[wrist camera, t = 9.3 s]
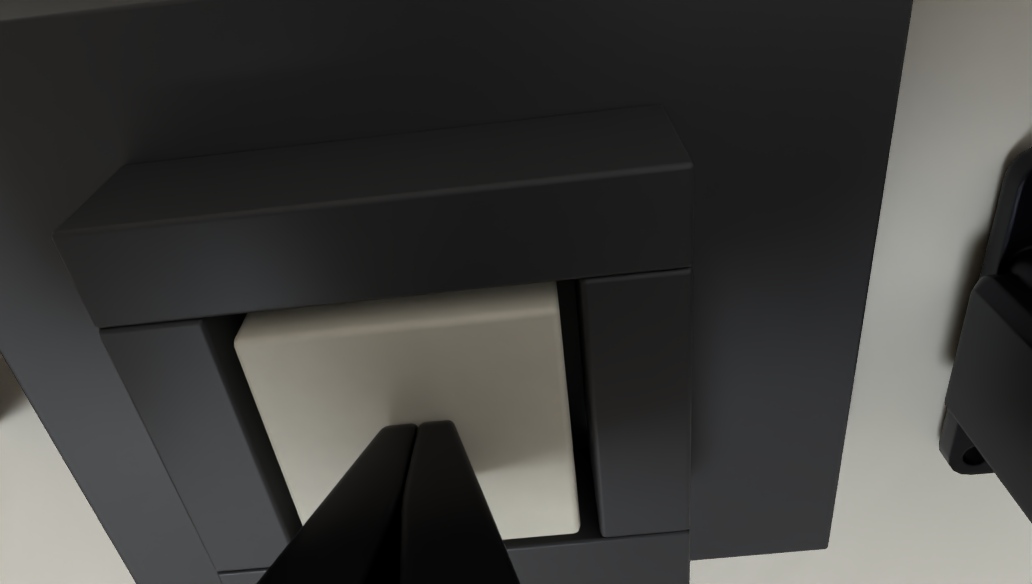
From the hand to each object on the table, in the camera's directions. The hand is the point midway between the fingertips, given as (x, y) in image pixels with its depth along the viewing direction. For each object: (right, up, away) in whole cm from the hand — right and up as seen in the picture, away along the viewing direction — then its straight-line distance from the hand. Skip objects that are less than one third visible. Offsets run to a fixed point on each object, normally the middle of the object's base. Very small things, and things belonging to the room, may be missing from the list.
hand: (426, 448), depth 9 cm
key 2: (0, +1, +1) cm, 2 cm away
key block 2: (0, +2, +4) cm, 4 cm away
